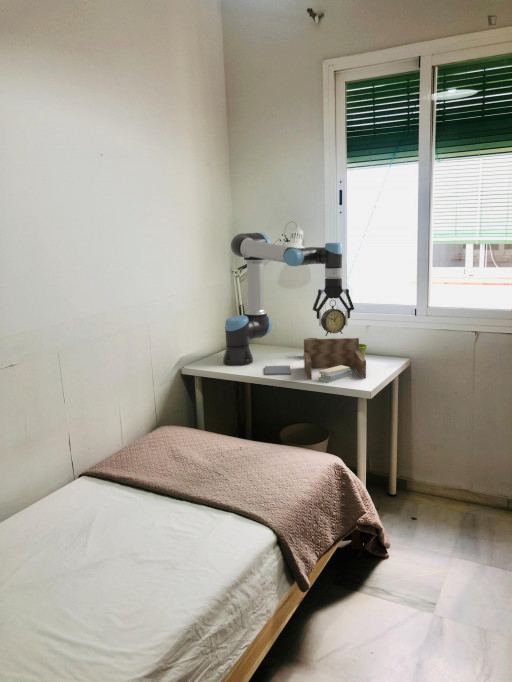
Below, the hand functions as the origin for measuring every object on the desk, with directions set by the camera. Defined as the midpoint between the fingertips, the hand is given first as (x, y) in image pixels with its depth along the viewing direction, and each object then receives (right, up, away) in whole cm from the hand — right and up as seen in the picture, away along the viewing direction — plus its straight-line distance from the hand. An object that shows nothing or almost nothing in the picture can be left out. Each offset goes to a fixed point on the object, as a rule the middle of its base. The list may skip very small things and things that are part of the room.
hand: (333, 325), depth 242 cm
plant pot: (+15, -18, +21) cm, 32 cm away
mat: (-25, -21, +10) cm, 34 cm away
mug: (-4, -16, +34) cm, 38 cm away
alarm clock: (0, -4, +1) cm, 4 cm away
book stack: (0, -24, -5) cm, 24 cm away
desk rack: (+1, -22, +4) cm, 22 cm away
